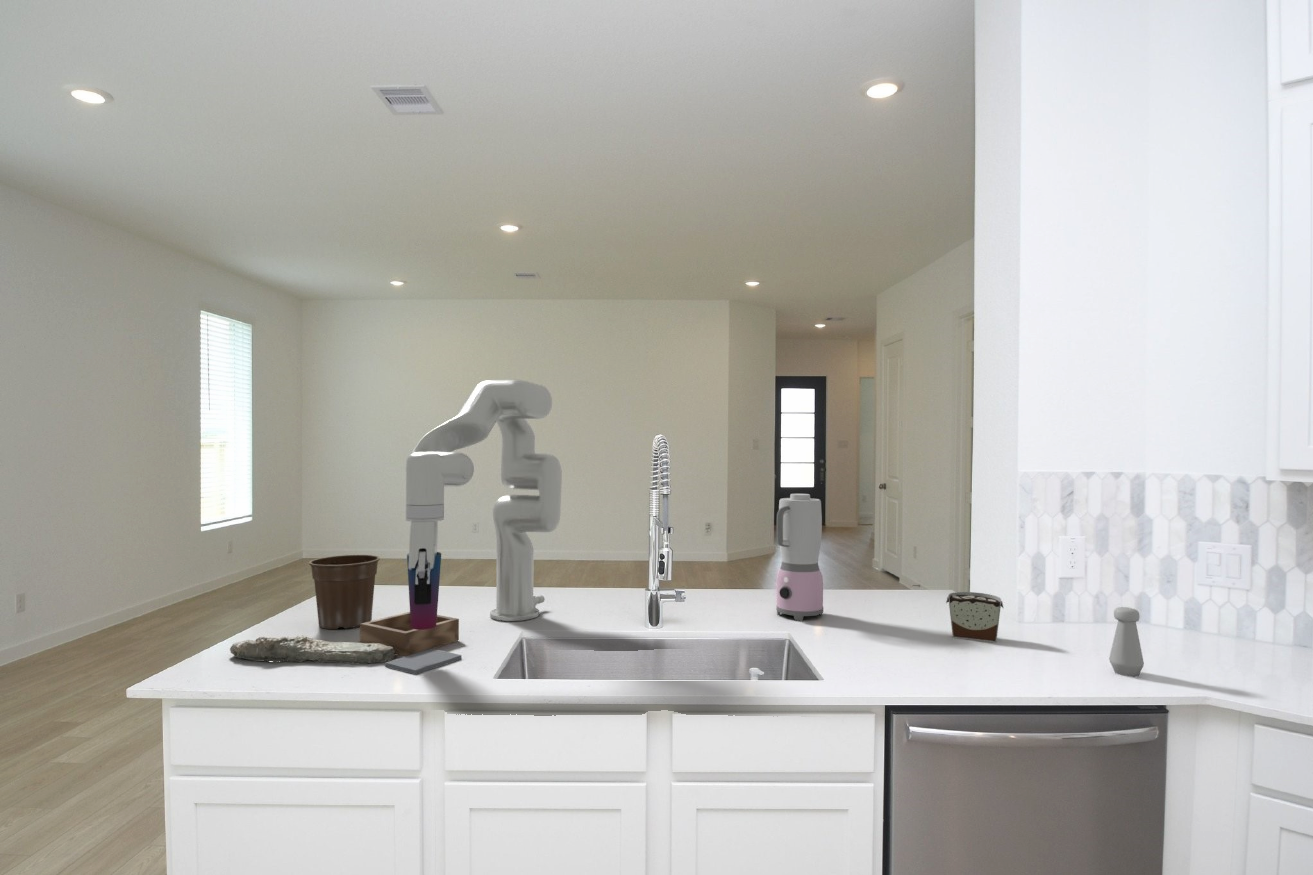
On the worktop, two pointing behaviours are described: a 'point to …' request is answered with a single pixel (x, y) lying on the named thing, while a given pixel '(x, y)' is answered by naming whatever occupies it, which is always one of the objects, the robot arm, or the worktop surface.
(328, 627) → the plant pot
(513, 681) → the worktop surface
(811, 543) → the blender
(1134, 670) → the salt shaker
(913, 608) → the worktop surface
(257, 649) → the long grey stone
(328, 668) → the worktop surface
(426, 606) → the cup
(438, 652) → the slate mat
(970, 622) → the food container
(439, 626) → the open wooden box
